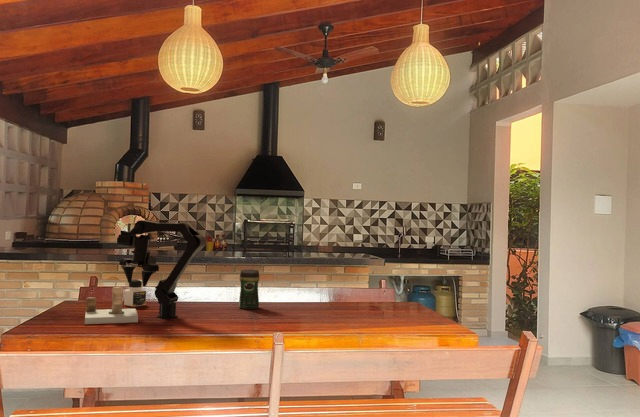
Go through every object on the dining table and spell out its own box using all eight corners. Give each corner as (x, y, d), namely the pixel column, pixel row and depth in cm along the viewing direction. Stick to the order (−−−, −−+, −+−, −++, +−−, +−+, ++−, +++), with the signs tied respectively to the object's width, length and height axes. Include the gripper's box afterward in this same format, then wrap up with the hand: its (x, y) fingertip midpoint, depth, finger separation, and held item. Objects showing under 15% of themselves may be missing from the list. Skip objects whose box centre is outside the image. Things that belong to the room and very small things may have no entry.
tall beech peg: (123, 318, 234) (124, 287, 234) (115, 320, 231) (116, 288, 231) (118, 317, 236) (119, 286, 236) (109, 318, 233) (110, 287, 233)
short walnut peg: (98, 310, 236) (98, 297, 236) (90, 312, 232) (90, 299, 232) (91, 309, 238) (92, 296, 238) (83, 311, 234) (84, 298, 234)
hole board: (135, 314, 244) (135, 308, 244) (137, 322, 228) (138, 316, 228) (85, 315, 237) (85, 310, 237) (84, 324, 221) (85, 317, 221)
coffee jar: (258, 306, 274) (260, 268, 274) (258, 309, 266) (259, 270, 266) (238, 306, 273) (240, 268, 273) (238, 309, 265) (239, 270, 265)
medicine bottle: (132, 306, 261) (133, 281, 261) (123, 304, 266) (124, 279, 266) (145, 305, 267) (146, 280, 267) (136, 303, 271) (137, 278, 271)
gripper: (170, 251, 245) (166, 287, 245) (140, 245, 254) (136, 279, 254) (150, 252, 235) (146, 288, 235) (120, 245, 245) (116, 281, 245)
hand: (136, 284), depth 243 cm, fingers open, 9 cm apart
